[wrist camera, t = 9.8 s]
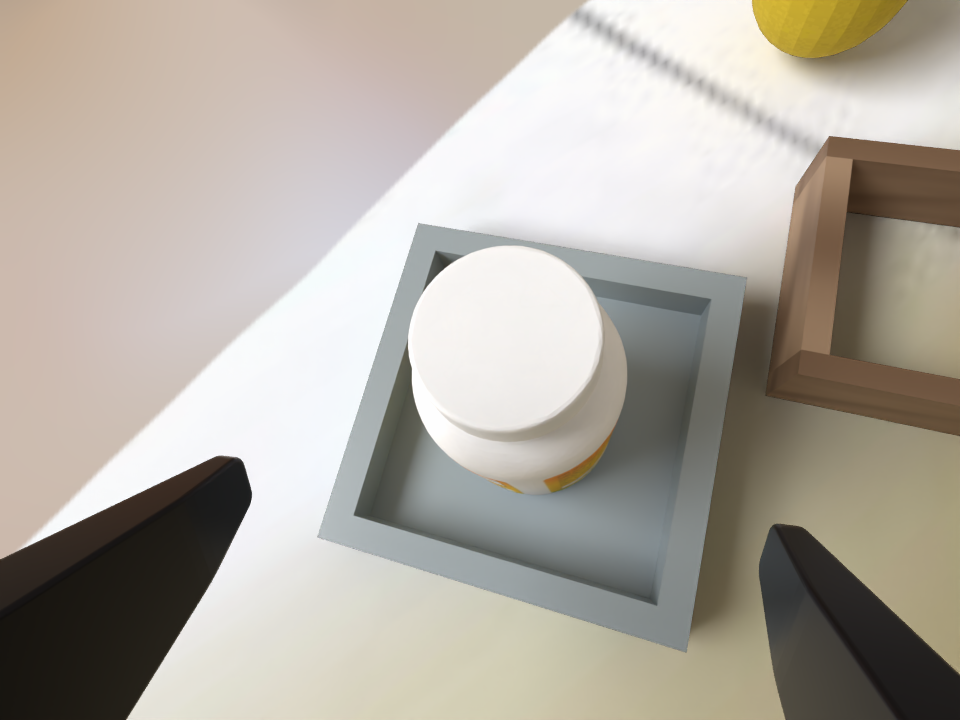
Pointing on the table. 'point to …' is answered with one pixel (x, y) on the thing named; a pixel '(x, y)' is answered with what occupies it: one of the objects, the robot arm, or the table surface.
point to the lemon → (822, 23)
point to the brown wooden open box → (815, 273)
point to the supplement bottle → (517, 368)
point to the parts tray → (588, 503)
